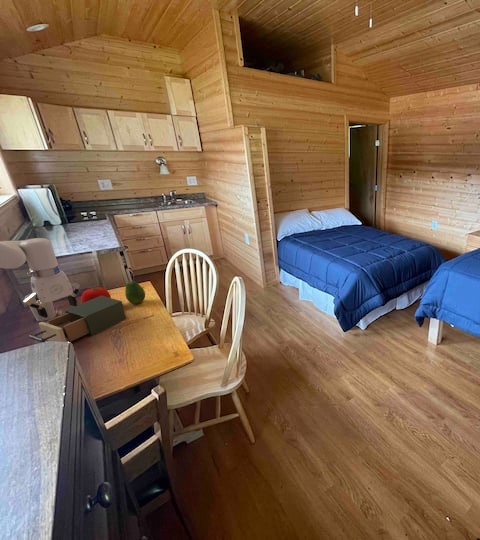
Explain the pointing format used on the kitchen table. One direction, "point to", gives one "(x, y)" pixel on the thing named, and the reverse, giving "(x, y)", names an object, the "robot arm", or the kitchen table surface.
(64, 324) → the block
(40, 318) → the cup
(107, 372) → the kitchen table surface
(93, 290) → the tomato
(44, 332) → the drawer
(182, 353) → the kitchen table surface
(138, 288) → the fruit
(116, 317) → the cabinet
